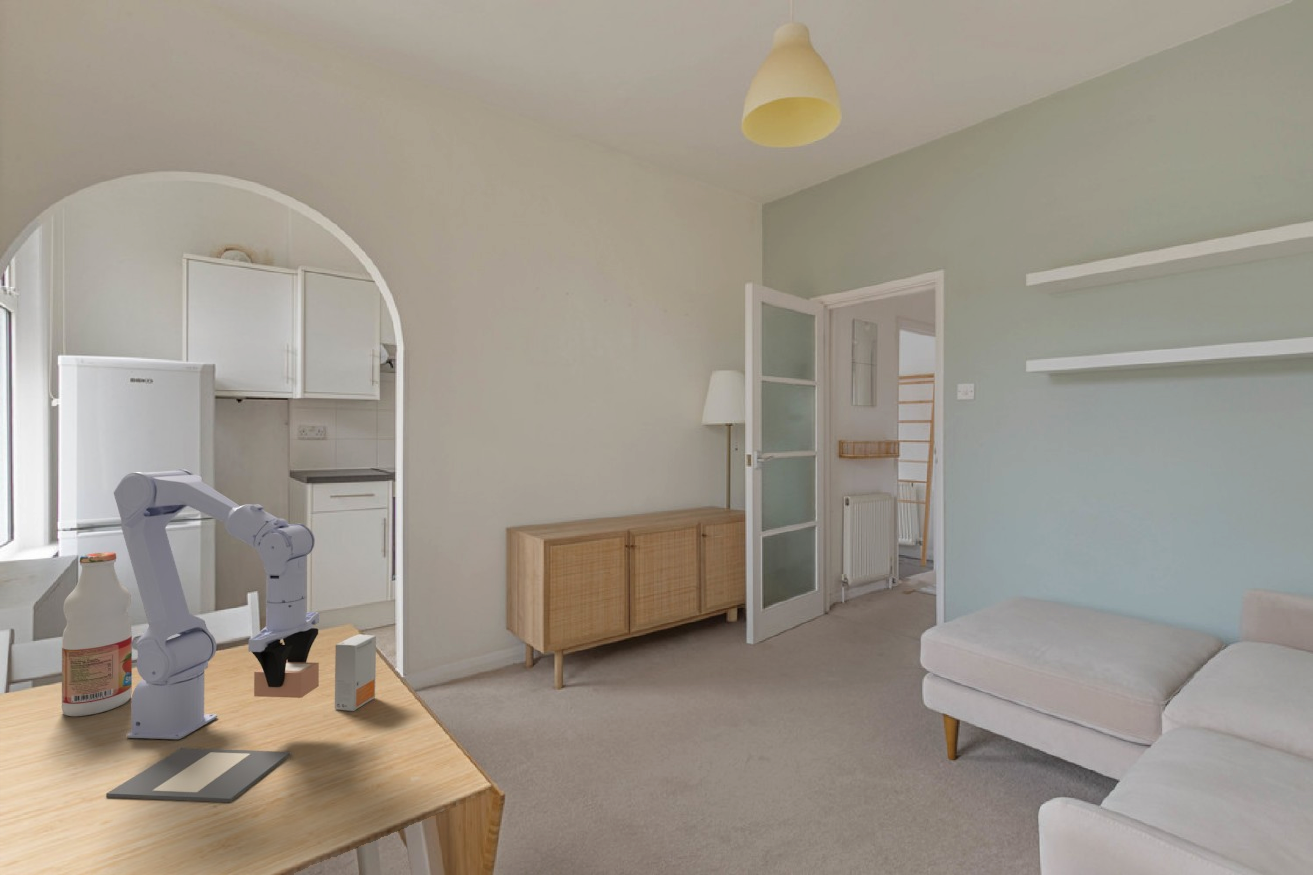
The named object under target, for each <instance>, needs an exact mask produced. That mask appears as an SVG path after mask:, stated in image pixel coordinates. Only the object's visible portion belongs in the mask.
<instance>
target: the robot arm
mask: <svg viewBox="0 0 1313 875" xmlns="http://www.w3.org/2000/svg"><path fill="white" fill-rule="evenodd" d="M113 496H114V499H115V500H114V501H115V503H116V506H117V509H118V513H119V517H120V522H121V523H120V524H121V525H120V526H121V532H122V535H123V538H124V541H125V546H126V549H127V552H128V556H129V560H130V562H131V566H132V570H133V574H134V578H135V581H136V584H137V587H138V590H139V594H140V599H141V603H142V605H143V609H144V613H145V616H146V620H147V623H148V627H147V628H146V630H145V631H144V632H143V634H142V635H140V637H139V638H138V639H137V641H136V642H135V645H136V646H135V647H136V650H137V657H136V658H137V659H136V669H137V672H138V675H139V677H141V680H140V681H139V682H138V683H137V684H136V686H135V688H134V689H133V692H132V693H131V704H130V705H131V709H130V710H131V711H130V712H131V717H130V718H131V723H130V726H131V727H130V728H131V730H130V732H129V733H127V734H126V738H129V739H130V738H131V739H155V740H158V739H160V740H180V739H183V738H185V737H186V736H188V735H190V734H191V733H193V732H195V731H196V730H198V729H200V728H202V727H204V726H205V725H207V724H209V723H210V722H212V721H214V720H215V719H217V718H218V714H215V713H205V670H206V669H208V667H209V662H210V661H211V660H212V659H213V658H214V656H215V654H216V653H217V652H216V651H217V641H216V639H215V637H214V635H213V634H212V633H211V632H210V630H209V629H208V627H207V624H206V621H205V620H204V619H202V618H200V617H198V616H196V615H194V614H192V613H190V610H189V606H188V604H187V600H186V598H185V592H184V590H183V587H182V583H181V579H180V575H179V572H178V569H177V565H176V561H175V558H174V554H173V551H172V546H171V544H170V540H169V538H168V534H167V530H166V527H167V526H168V524H169V523H170V522H171V520H172V519H174V518H175V517H176V516H178V515H179V514H180V513H181V512H182V511H183V510H185V509H186V507H189V508H192V509H194V510H196V511H198V512H200V513H203V514H205V515H207V516H208V517H211V518H212V519H215V520H217V521H220V522H222V523H223V524H224V526H225V531H226V533H227V534H229V535H230V536H232V537H234V538H236V539H237V540H240V541H242V543H245V544H247V545H249V547H250V546H251V548H253V549H255V550H256V551H257V552H256V553H257V554H258V557H259V558H260V559H261V562H262V563H263V571H264V572H265V575H266V576H265V577H266V580H265V582H266V584H265V585H266V586H265V587H266V588H265V589H266V590H265V591H266V592H265V594H266V599H265V604H266V605H265V608H266V609H265V627H263V628H262V629H261V630H260V631H259V632H258V633H256V635H254V636H253V637H251V638H249V639H248V653H249V652H251V653H252V655H254V656H255V658H256V659H257V661H258V663H259V664H260V666H261V668H262V669H263V671H264V674H265V677H266V681H267V684H268V687H281V686H283V683H284V678H285V668H286V662H307V661H308V658H309V653H310V651H311V648H312V646H313V644H314V642H315V640H316V638H317V637H318V635H319V629H318V628H315V627H313V626H314V625H315V626H316V625H318V624H319V623H320V612H316V611H315V612H314V611H308V612H307V587H308V585H307V579H308V578H307V577H308V576H307V574H308V573H307V567H308V565H307V564H308V563H307V561H308V558H307V557H308V555H310V554H311V552H312V551H313V550H314V548H315V542H316V541H315V536H314V533H313V531H312V530H311V529H310V528H309V527H307V526H306V525H305V524H304V523H294V524H293V523H292V524H290V523H287V519H284V518H283V517H282V518H281V517H280V518H278V517H276V516H274V515H273V514H271V513H270V512H267V511H265V510H264V508H265V507H264V505H261V504H259V503H255V504H254V503H253V504H252V503H246V504H243V505H239V504H238V503H236V502H235V501H233V500H232V499H230V498H229V497H227V496H225V495H224V494H222V493H220V492H219V491H217V490H216V489H215V488H213V487H211V486H210V485H208V484H206V483H205V482H204V480H203V477H202V476H201V475H198V474H195V473H193V472H192V471H190V470H189V469H188V470H187V469H177V470H168V471H167V470H166V471H149V472H148V471H147V472H141V471H140V472H139V471H134V472H130V473H128V474H125V476H124V477H123V478H122V479H121V480H120V482H119V484H118V485H117V487H116V488H115V489H114V491H113ZM175 635H178V636H175ZM173 636H175V637H173ZM170 637H172V638H170ZM281 641H283V642H281Z"/></svg>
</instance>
